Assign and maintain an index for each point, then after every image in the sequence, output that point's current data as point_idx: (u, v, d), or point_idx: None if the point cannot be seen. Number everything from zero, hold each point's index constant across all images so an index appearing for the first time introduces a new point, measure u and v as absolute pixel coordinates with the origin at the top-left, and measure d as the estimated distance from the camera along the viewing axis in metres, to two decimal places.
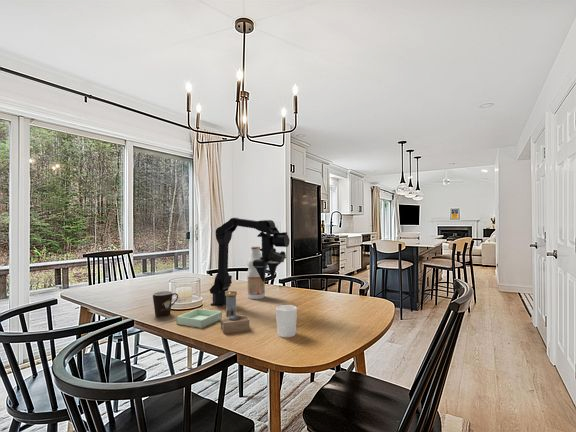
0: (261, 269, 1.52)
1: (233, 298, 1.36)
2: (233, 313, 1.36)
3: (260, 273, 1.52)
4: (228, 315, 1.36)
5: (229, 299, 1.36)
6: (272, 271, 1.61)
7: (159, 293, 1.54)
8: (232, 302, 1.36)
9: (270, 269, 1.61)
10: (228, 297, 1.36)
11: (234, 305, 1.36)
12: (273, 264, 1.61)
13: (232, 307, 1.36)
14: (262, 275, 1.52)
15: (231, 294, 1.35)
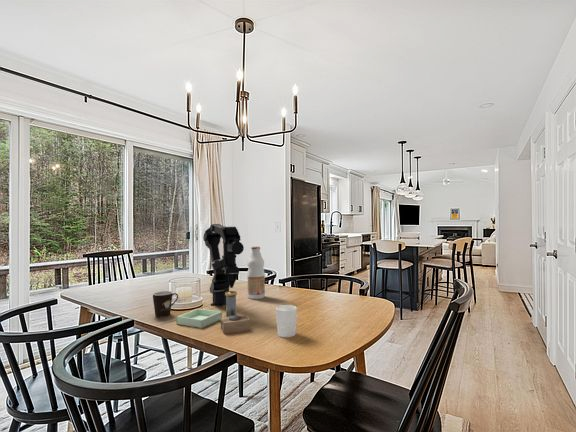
0: None
1: (233, 298, 1.36)
2: (233, 313, 1.36)
3: None
4: (228, 315, 1.36)
5: (229, 299, 1.36)
6: None
7: (159, 293, 1.54)
8: (232, 302, 1.36)
9: None
10: (228, 297, 1.36)
11: (234, 305, 1.36)
12: None
13: (232, 307, 1.36)
14: None
15: (231, 294, 1.35)
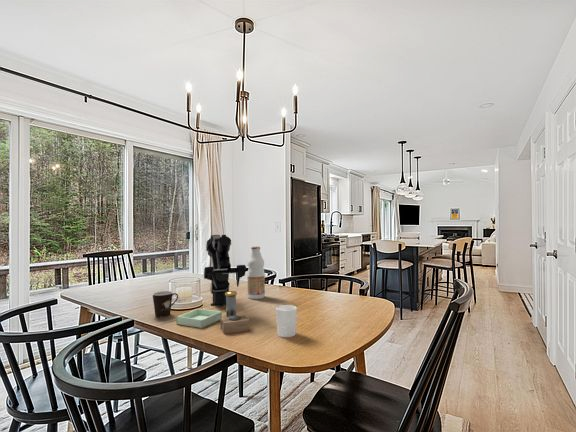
0: None
1: (233, 298, 1.36)
2: (233, 313, 1.36)
3: None
4: (228, 315, 1.36)
5: (229, 299, 1.36)
6: None
7: (159, 293, 1.54)
8: (232, 302, 1.36)
9: None
10: (228, 297, 1.36)
11: (234, 305, 1.36)
12: None
13: (232, 307, 1.36)
14: None
15: (231, 294, 1.35)
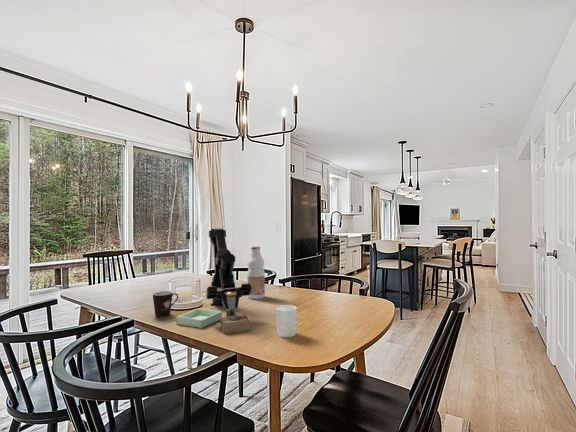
0: None
1: (233, 298, 1.36)
2: (233, 313, 1.36)
3: None
4: (228, 315, 1.36)
5: (229, 299, 1.36)
6: None
7: (159, 293, 1.54)
8: (232, 302, 1.36)
9: None
10: (228, 297, 1.36)
11: (234, 305, 1.36)
12: None
13: (232, 307, 1.36)
14: None
15: (231, 294, 1.35)
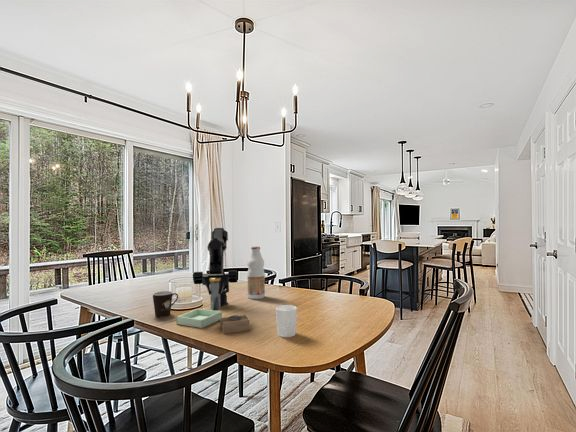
0: None
1: (216, 284, 1.37)
2: (216, 299, 1.37)
3: (223, 285, 1.40)
4: (211, 301, 1.37)
5: (212, 285, 1.37)
6: (209, 288, 1.39)
7: (159, 293, 1.54)
8: (215, 288, 1.37)
9: (209, 284, 1.39)
10: (211, 283, 1.37)
11: (217, 291, 1.37)
12: None
13: (215, 293, 1.37)
14: (222, 288, 1.40)
15: (214, 280, 1.36)
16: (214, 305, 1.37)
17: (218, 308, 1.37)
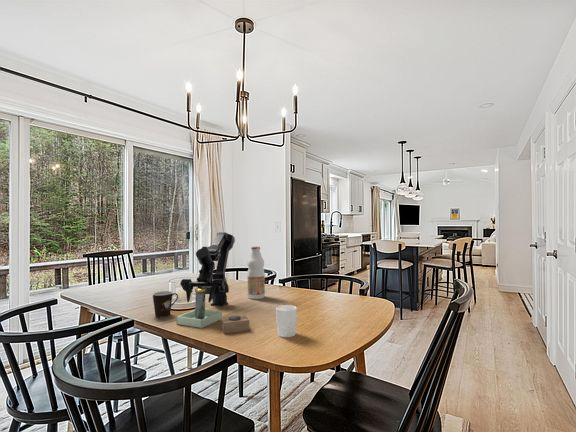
0: (214, 290, 1.43)
1: (200, 295, 1.40)
2: (199, 309, 1.39)
3: (213, 293, 1.41)
4: (195, 311, 1.40)
5: (196, 295, 1.40)
6: (189, 295, 1.42)
7: (159, 293, 1.54)
8: (199, 298, 1.39)
9: (189, 292, 1.42)
10: (196, 293, 1.40)
11: (201, 302, 1.40)
12: (190, 289, 1.45)
13: (199, 303, 1.39)
14: (212, 296, 1.41)
15: (198, 290, 1.39)
16: (197, 316, 1.39)
17: (201, 319, 1.40)
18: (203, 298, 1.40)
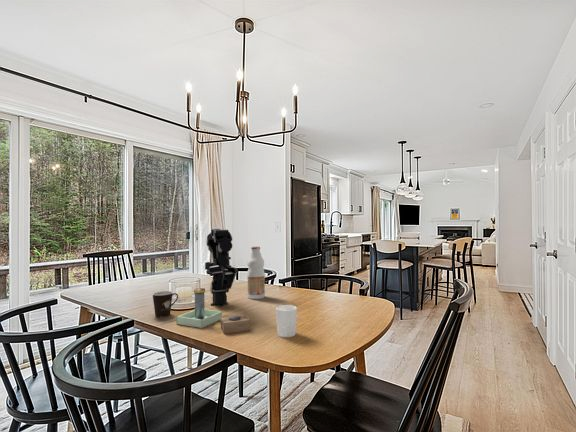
0: None
1: (199, 295, 1.39)
2: (199, 310, 1.39)
3: None
4: (195, 311, 1.40)
5: (195, 296, 1.40)
6: None
7: (159, 293, 1.54)
8: (198, 299, 1.39)
9: None
10: (195, 294, 1.40)
11: (200, 302, 1.39)
12: None
13: (198, 304, 1.39)
14: None
15: (196, 291, 1.39)
16: (197, 316, 1.39)
17: (201, 319, 1.40)
18: (202, 298, 1.40)
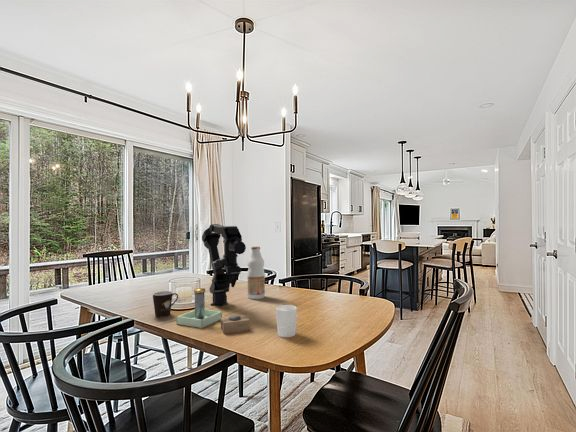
0: None
1: (199, 295, 1.39)
2: (199, 310, 1.39)
3: None
4: (195, 311, 1.40)
5: (195, 296, 1.40)
6: None
7: (159, 293, 1.54)
8: (198, 299, 1.39)
9: None
10: (195, 294, 1.40)
11: (200, 302, 1.40)
12: None
13: (198, 304, 1.39)
14: None
15: (197, 291, 1.39)
16: (197, 316, 1.39)
17: (201, 319, 1.40)
18: (202, 298, 1.40)
